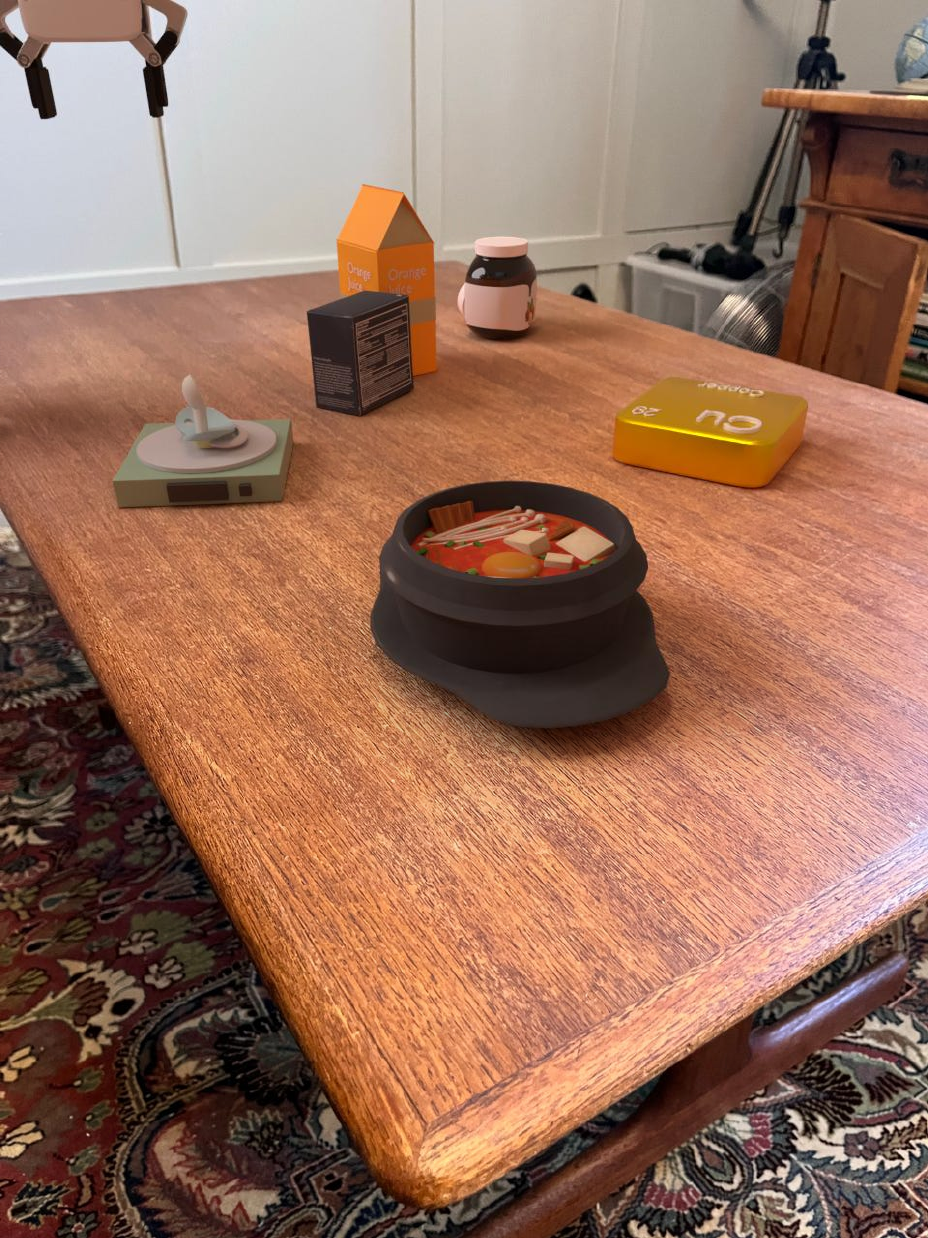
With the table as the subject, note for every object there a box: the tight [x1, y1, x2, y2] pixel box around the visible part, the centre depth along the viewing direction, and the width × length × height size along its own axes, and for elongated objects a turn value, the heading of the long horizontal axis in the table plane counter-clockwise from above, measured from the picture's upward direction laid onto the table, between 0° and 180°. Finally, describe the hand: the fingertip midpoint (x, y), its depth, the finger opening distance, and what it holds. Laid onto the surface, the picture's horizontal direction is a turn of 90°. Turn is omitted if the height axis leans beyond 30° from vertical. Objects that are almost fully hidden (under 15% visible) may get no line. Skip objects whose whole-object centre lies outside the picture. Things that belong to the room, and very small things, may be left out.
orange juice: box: [335, 183, 438, 377], centre depth 113 cm, size 8×9×20 cm
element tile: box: [612, 376, 809, 489], centre depth 93 cm, size 15×15×5 cm
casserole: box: [369, 480, 671, 729], centre depth 63 cm, size 25×19×8 cm
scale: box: [112, 418, 294, 508], centre depth 89 cm, size 14×14×3 cm
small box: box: [306, 290, 415, 417], centre depth 106 cm, size 11×6×10 cm, turn 149°
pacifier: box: [174, 374, 248, 448], centre depth 87 cm, size 7×6×6 cm
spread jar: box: [457, 235, 538, 341], centre depth 129 cm, size 12×11×12 cm
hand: (103, 116), depth 89 cm, fingers open, 9 cm apart
